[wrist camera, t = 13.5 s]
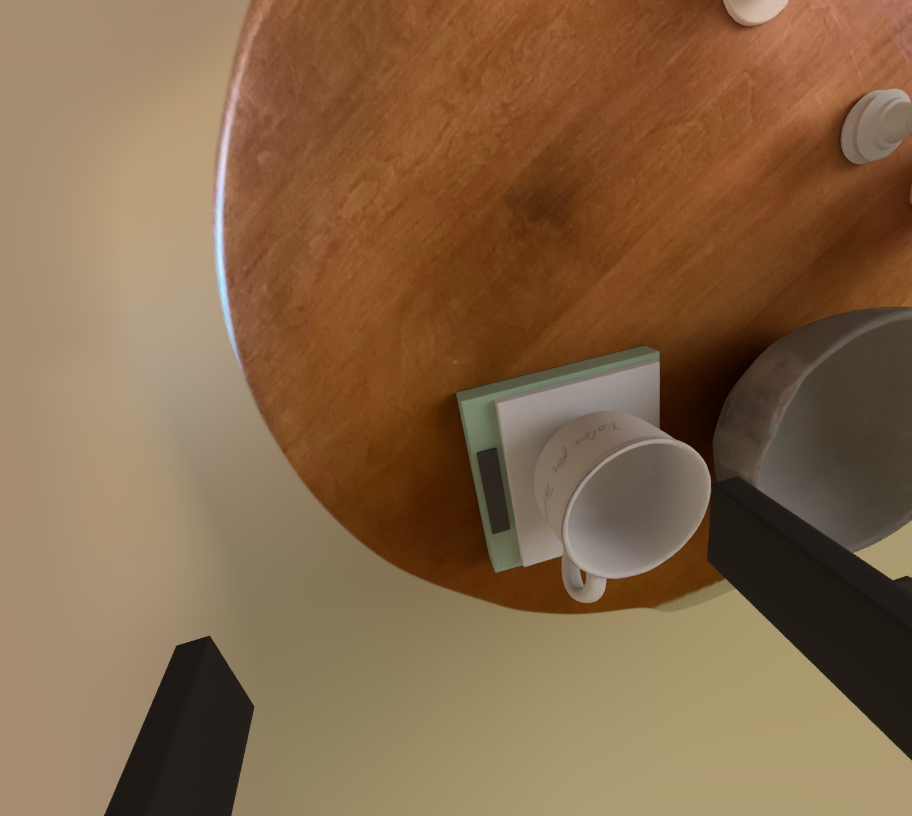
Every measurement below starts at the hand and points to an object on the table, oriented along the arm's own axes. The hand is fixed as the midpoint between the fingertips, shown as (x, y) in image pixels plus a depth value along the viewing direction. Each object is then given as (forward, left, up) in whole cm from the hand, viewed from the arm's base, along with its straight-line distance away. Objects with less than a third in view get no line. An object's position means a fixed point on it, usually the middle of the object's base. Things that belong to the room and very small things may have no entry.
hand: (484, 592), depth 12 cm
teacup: (+11, -12, -21) cm, 26 cm away
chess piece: (+37, +9, -24) cm, 45 cm away
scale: (+11, -12, -23) cm, 29 cm away
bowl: (+31, -12, -24) cm, 41 cm away
